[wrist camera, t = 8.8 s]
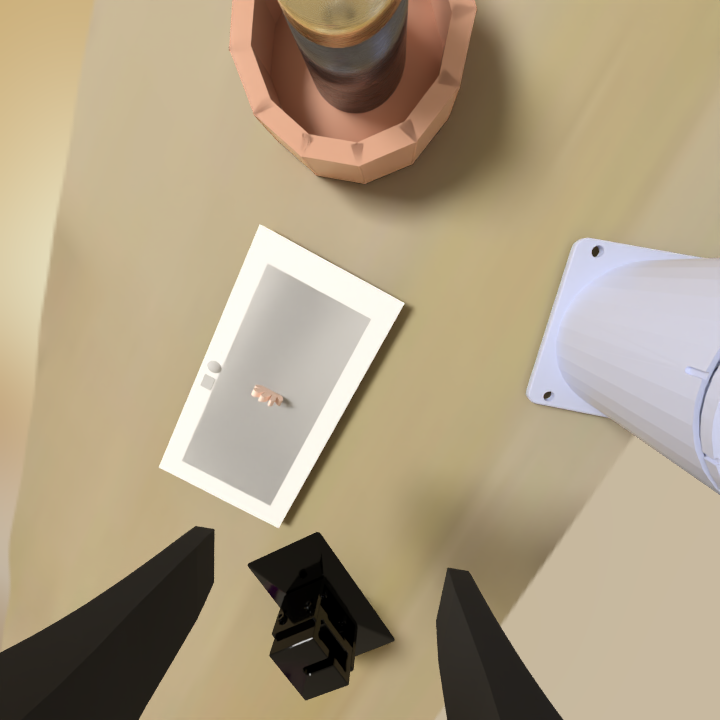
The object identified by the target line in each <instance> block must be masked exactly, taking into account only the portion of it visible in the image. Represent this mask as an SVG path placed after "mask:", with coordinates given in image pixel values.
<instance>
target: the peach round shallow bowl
mask: <svg viewBox="0 0 720 720" xmlns="http://www.w3.org/2000/svg"><path fill="white" fill-rule="evenodd" d="M476 12H477V7H476V4H475V0H408V20H407V42H406V61H405V68H404V72H403V75H402V78H401V80H400V83H399V85H398V86H397V88H396V90H395V91H394V93H393V94H392V95H391V96H390V98H389V99H388V100H387V101H386V102H384V103H383V104H382V105H380V106H379V107H377V108H375V109H373V110H371V111H368V112H365V113H347V112H343V111H340V110H338V109H336V108H335V107H333V106H332V105H330V104H329V103H328V102H327V101H326V100H325V99H324V98H323V97H322V96H321V94H320V93H319V91H318V90H317V88H316V86H315V84H314V81H313V79H312V77H311V75H310V72H309V70H308V68H307V66H306V63H305V61H304V59H303V57H302V54H301V52H300V50H299V48H298V45H297V43H296V41H295V39H294V37H293V34H292V32H291V30H290V28H289V25H288V23H287V21H286V19H285V16H284V14H283V12H282V10H281V7H280V5H279V3H278V1H277V0H233V1H232V15H231V30H230V44H229V51H230V52H231V55H232V57H233V60H234V63H235V65H236V68H237V71H238V73H239V76H240V79H241V81H242V84H243V87H244V89H245V92H246V94H247V97H248V100H249V102H250V105H251V108H252V110H253V114H254V116H255V117H256V118H257V119H258V120H259V121H260V122H261V123H262V125H263V126H264V127H265V128H266V129H267V130H268V131H269V132H270V133H271V134H272V135H273V137H274V138H275V139H276V140H277V141H278V142H280V143H281V144H282V145H283V146H284V147H285V148H287V149H288V150H289V151H290V152H291V153H292V154H293V155H294V156H296V157H297V158H298V159H299V160H300V161H301V162H302V163H303V164H304V165H306V166H307V167H308V168H309V169H310V170H311V171H312V172H313V173H314V174H315V175H317V176H323V177H328V178H334V179H340V180H346V181H351V182H357V183H363V184H366V183H368V182H371V181H373V180H375V179H378V178H380V177H383V176H385V175H387V174H390V173H392V172H395V171H397V170H400V169H402V168H404V167H407V166H409V165H412V164H413V163H414V162H415V160H416V159H417V158H418V156H419V155H420V154H421V153H422V151H423V150H424V149H425V148H426V146H427V145H428V144H429V142H430V141H431V140H432V139H433V137H434V136H435V135H436V134H437V132H438V131H439V130H440V128H441V127H442V126H443V125H444V123H445V122H446V121H447V120H448V118H449V116H450V113H451V110H452V108H453V105H454V102H455V99H456V97H457V94H458V91H459V88H460V86H461V79H462V74H463V70H464V65H465V60H466V56H467V51H468V46H469V42H470V37H471V32H472V28H473V23H474V18H475V15H476Z"/></svg>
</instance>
